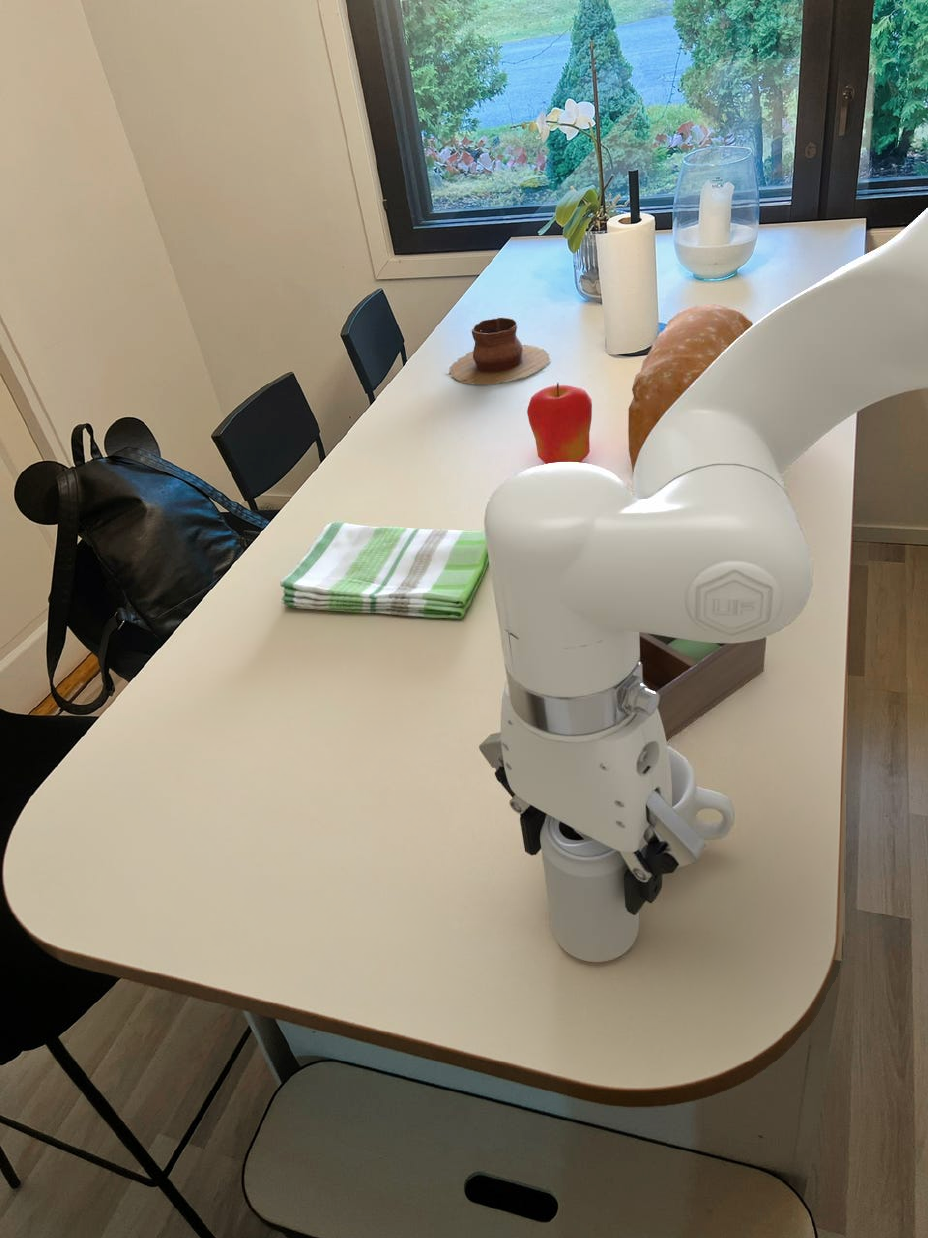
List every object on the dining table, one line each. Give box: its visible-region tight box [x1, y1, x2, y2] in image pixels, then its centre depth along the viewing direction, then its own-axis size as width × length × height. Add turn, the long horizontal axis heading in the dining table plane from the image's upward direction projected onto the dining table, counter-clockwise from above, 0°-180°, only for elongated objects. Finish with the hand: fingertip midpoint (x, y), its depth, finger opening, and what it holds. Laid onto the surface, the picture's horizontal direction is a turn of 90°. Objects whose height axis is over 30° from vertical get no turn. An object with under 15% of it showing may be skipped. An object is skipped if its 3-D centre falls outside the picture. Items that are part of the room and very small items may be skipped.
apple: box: [526, 382, 593, 465], centre depth 118 cm, size 9×8×12 cm
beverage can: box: [540, 814, 640, 963], centre depth 61 cm, size 6×6×12 cm
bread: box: [627, 304, 754, 473], centre depth 117 cm, size 14×26×16 cm, turn 158°
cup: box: [639, 745, 735, 851], centre depth 67 cm, size 11×8×8 cm
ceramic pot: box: [448, 317, 551, 386], centre depth 152 cm, size 18×18×7 cm
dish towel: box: [279, 521, 489, 619], centre depth 105 cm, size 17×23×4 cm
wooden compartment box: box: [639, 632, 767, 742], centre depth 81 cm, size 9×18×6 cm, turn 127°
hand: (590, 867), depth 60 cm, fingers open, 7 cm apart
